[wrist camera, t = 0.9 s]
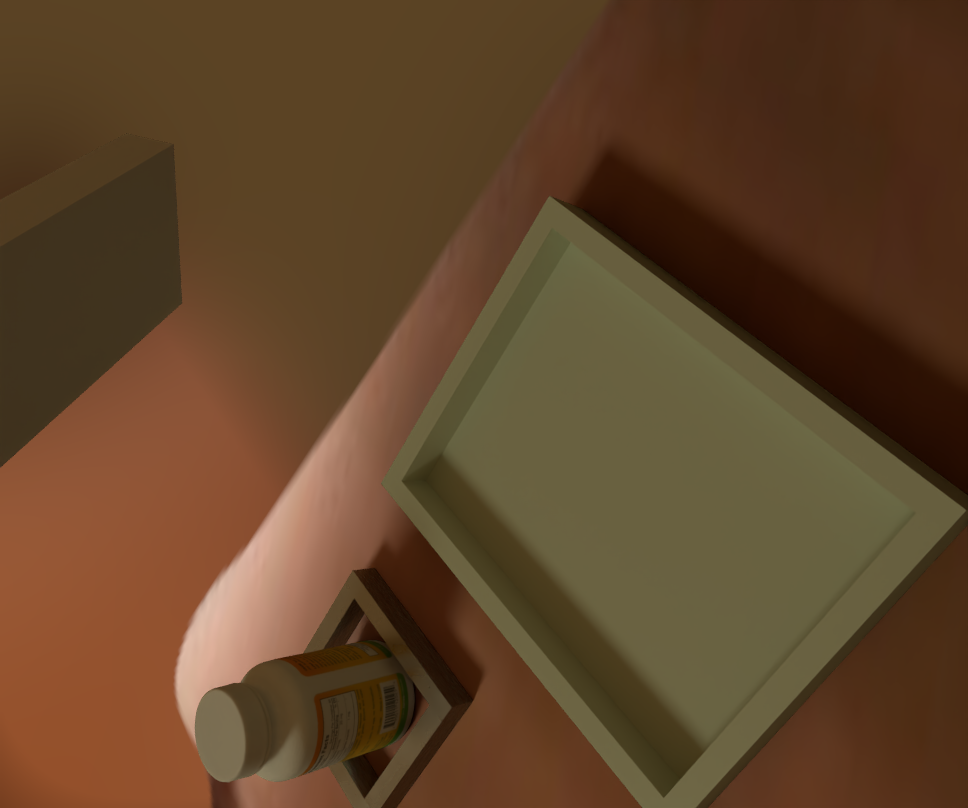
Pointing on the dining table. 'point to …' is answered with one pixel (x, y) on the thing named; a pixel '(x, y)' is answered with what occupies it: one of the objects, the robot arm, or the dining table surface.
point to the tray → (660, 508)
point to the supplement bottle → (305, 713)
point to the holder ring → (424, 668)
